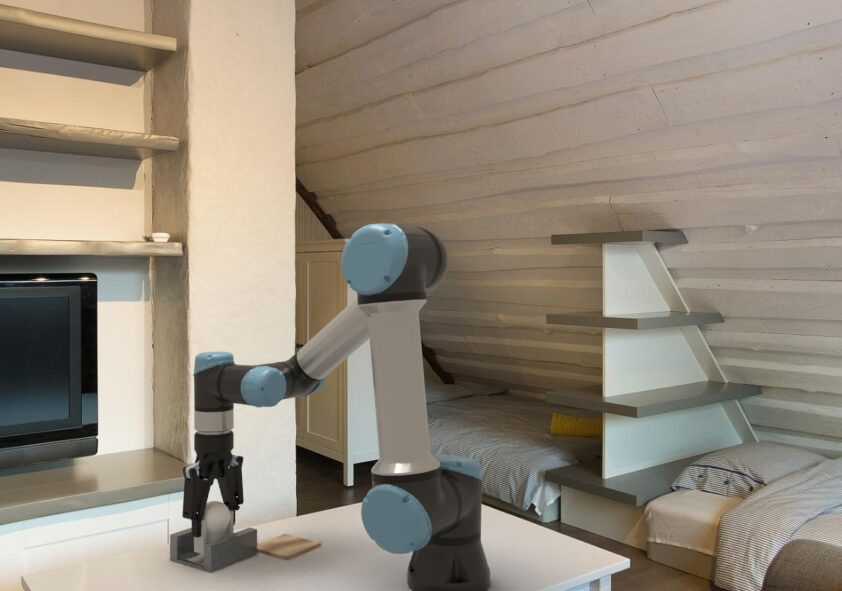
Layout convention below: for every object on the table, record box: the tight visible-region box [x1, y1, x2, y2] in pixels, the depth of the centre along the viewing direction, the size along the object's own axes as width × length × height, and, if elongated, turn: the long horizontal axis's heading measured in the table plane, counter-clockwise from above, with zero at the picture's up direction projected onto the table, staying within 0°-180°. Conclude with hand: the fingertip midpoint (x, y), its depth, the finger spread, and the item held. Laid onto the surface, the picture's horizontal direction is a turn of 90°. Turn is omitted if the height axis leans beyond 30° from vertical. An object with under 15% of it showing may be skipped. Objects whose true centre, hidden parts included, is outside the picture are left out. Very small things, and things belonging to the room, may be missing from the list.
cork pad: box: [257, 533, 322, 561], centre depth 163 cm, size 10×10×1 cm
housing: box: [169, 527, 258, 573], centre depth 157 cm, size 12×12×5 cm
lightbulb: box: [203, 500, 231, 543], centre depth 157 cm, size 6×6×11 cm
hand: (214, 547), depth 157 cm, fingers closed on lightbulb, 6 cm apart
